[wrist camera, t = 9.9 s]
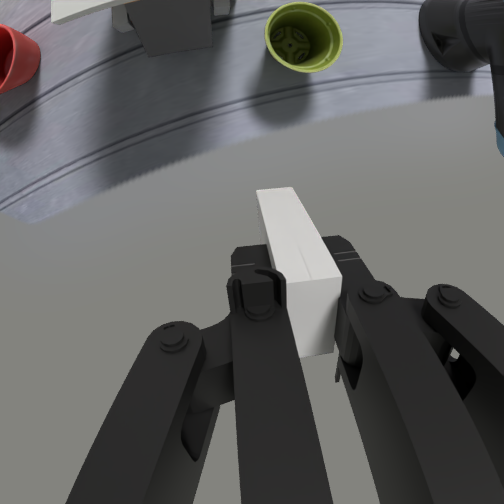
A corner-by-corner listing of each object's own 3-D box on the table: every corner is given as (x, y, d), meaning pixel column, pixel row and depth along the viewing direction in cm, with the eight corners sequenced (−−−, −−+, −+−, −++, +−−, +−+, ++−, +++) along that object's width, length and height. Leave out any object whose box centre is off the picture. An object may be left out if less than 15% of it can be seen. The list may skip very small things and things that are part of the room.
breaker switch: (214, 34, 32) (209, -56, 16) (215, 46, 32) (210, -44, 16) (146, 45, 31) (110, -37, 16) (146, 58, 32) (107, -24, 16)
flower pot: (-1, 102, 34) (-36, 109, 25) (-1, 43, 28) (-36, 40, 20) (49, 85, 35) (15, 87, 26) (49, 22, 29) (17, 12, 21)
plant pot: (293, 89, 40) (311, 88, 33) (241, 48, 37) (248, 38, 29) (332, 46, 38) (357, 38, 30) (283, 5, 34) (298, -12, 26)
